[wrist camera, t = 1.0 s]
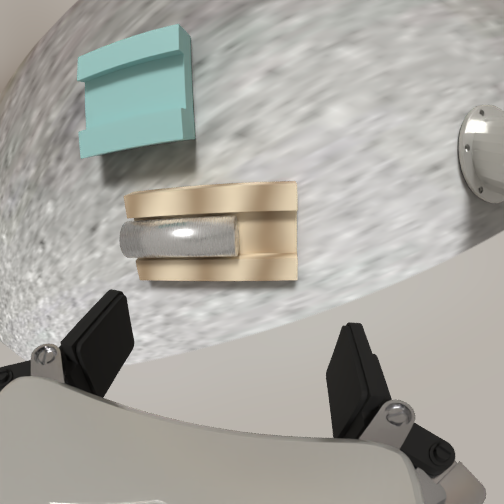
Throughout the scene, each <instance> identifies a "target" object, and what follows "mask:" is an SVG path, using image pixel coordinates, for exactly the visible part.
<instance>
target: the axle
mask: <svg viewBox="0 0 504 504" xmlns="http://www.w3.org/2000/svg"><path fill="white" fill-rule="evenodd" d="M120 247H121V250H122V253H123V254H124V256H126V257H127V258H162V257H228V256H237V255H238V251H239V226H238V219H237V216H236V215H234V216H210V217H190V218H172V219H156V220H141V221H128V222H125V223H124V224H123V226H122V228H121V231H120Z"/></svg>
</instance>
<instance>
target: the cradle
mask: <svg viewBox="0 0 504 504" xmlns="http://www.w3.org/2000/svg"><path fill="white" fill-rule="evenodd" d="M77 81H81V82H85V111H86V130H83V131H80V132H79V144H80V155H81V159H82V158H87V157H93V156H98V155H103V154H108V153H113V152H117V151H122V150H127V149H133V148H138V147H144V146H149V145H156V144H162V143H169V142H176V141H183V140H191V139H195V127H194V111H193V92H192V70H191V36H190V35H189V34H188V33H187V32H186V31H185V30H184V29H183V28H182V27H181V26H180V25H179V24H176V25H172V26H168V27H164V28H160V29H156V30H152V31H149V32H145V33H142V34H139V35H135V36H132V37H129V38H126V39H123V40H120V41H117V42H115V43H112V44H109V45H107V46H104V47H101V48H99V49H97V50H94V51H92V52H89V53H87V54H85V55H82V56H80V57H78V71H77Z"/></svg>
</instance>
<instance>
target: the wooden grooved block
mask: <svg viewBox="0 0 504 504" xmlns="http://www.w3.org/2000/svg"><path fill="white" fill-rule="evenodd" d="M124 201H125V208H126V214H127V218H134V221H141V220H156V219H172V218H190V217H210V216H234V215H236V216H237V219H238V226H239V251H238V255H237V256H228V257H162V258H138V259H137V260H136V265H137V270H138V274H139V278H140V280H161V281H281V280H297V265H298V258H297V183H296V181H282V182H252V183H231V184H215V185H200V186H188V187H176V188H166V189H156V190H146V191H138V192H132V193H130V194H128V195H125V196H124Z"/></svg>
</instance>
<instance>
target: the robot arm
mask: <svg viewBox="0 0 504 504" xmlns="http://www.w3.org/2000/svg"><path fill="white" fill-rule="evenodd" d="M459 160H460V164H461V169H462V172H463V175H464V178H465V180H466V182H467V184H468V186H469V187H470V189H471V190H472V192H473V193H474V194H475V195H476V196H477V197H479V198H480V199H482V200H484V201H487V202H489V203H501V202H503V201H504V111H502V110H501V109H500V108H498V107H496V106H493V105H480V106H476V107H475V108H473V109H472V110H471V111H470V112H469V113H468V114H467V115H466V117H465V119H464V121H463V124H462V127H461V130H460V135H459ZM60 343H61V346H60V347H59V348H58V347H57V346H56V345H54V344H43V345H40V346H39V347H37V348H36V349H35V350H34V351H33V352H32V354H31V360H29V361H25V362H21V363H17V364H13V365H8V366H4V367H1V368H0V504H483V502H484V500H485V498H486V490H485V488H484V486H483V485H482V484H481V483H480V482H479V481H478V479H477V478H475V476H474V475H473V474H472V473H471V472H470V471H469V470H468V469H467V468H466V467H465V466H464V465H463V464H462V463H461V462H458V463H457V462H456V461H455V452H454V449H453V447H452V446H451V445H450V444H449V443H448V442H446V441H445V440H443V439H441V438H439V437H438V436H436V435H434V434H432V433H431V432H429V431H427V430H426V429H424V428H422V427H421V426H419V425H417V424H416V423H414V421H415V413H414V411H413V409H412V407H411V406H410V405H409V404H407V403H406V402H403V401H401V400H392V399H391V396H390V393H389V390H388V387H387V384H386V381H385V378H384V375H383V372H382V369H381V366H380V363H379V360H378V358H377V356H376V355H375V354H372V351H371V349H370V346H369V343H368V340H367V338H366V335H365V332H364V329H363V326H362V324H360V323H347V325H346V326H342V329H341V332H340V335H339V338H338V341H337V344H336V346H335V349H334V352H333V355H332V358H331V361H330V363H329V366H328V369H327V372H326V380H327V388H328V395H329V403H330V412H331V420H332V429H333V437H334V438H311V437H292V436H277V435H265V434H256V433H248V432H240V431H233V430H227V429H220V428H214V427H209V426H203V425H198V424H193V423H188V422H184V421H180V420H176V419H171V418H167V417H163V416H160V415H155V414H152V413H148V412H145V411H141V410H138V409H135V408H132V407H128V406H125V405H122V404H119V403H116V402H113V401H110V400H107V399H104V398H103V397H104V396H105V394H106V392H107V390H108V389H109V387H110V386H111V384H112V382H113V381H114V379H115V377H116V375H117V374H118V372H119V371H120V369H121V367H122V366H123V364H124V362H125V361H126V359H127V358H128V356H129V354H130V353H131V351H132V349H133V347H134V338H133V333H132V327H131V322H130V316H129V310H128V304H127V298H126V296H125V295H124V294H123V292H121V291H117V290H112V289H111V290H109V291H108V292H107V293H106V294H105V295H104V296H103V297H102V298H101V299H100V300H99V301H98V302H97V303H96V304H95V305H94V306H93V307H92V308H91V309H90V310H89V312H88V313H87V314H86V315H85V316H84V317H83V318H82V319H81V320H80V321H79V322H78V323H77V324H76V326H75V327H74V328H73V329H72V330H71V331H70V332H69V333H68V334H67V336H66V337H65V338H64V339H63V340H62V341H61V342H60Z"/></svg>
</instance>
